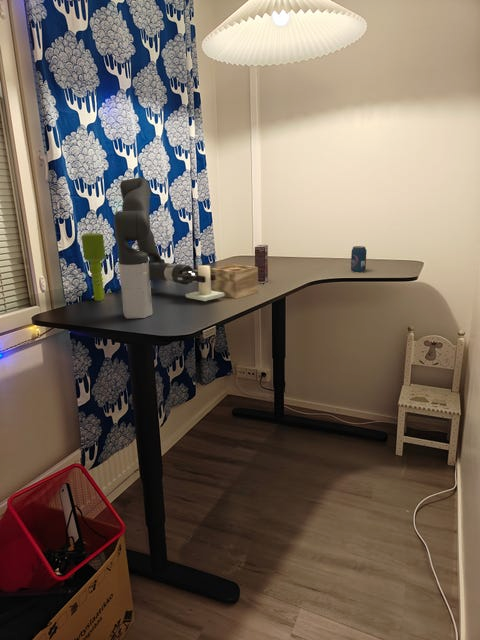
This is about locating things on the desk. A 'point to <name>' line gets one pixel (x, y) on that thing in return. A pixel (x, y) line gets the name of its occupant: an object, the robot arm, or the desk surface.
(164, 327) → the desk surface
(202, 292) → the lid
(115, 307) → the desk surface
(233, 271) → the box
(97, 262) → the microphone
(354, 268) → the soda can
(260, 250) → the supplement box
